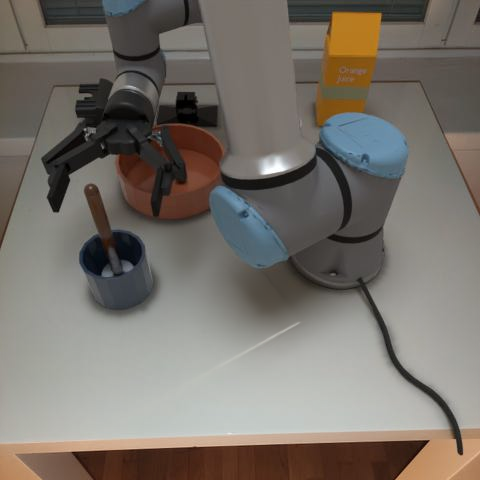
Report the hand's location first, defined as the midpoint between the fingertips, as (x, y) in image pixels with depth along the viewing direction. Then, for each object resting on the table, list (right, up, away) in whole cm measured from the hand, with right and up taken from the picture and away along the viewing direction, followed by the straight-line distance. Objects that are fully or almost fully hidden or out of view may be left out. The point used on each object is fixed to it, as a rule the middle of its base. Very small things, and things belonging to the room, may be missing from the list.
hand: (103, 207), depth 63 cm
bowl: (+6, +10, +25) cm, 28 cm away
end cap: (-10, +26, +35) cm, 45 cm away
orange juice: (+39, +28, +37) cm, 60 cm away
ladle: (0, -9, +11) cm, 15 cm away
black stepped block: (+7, +28, +37) cm, 46 cm away
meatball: (+7, +11, +23) cm, 27 cm away
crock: (0, -10, +12) cm, 15 cm away
